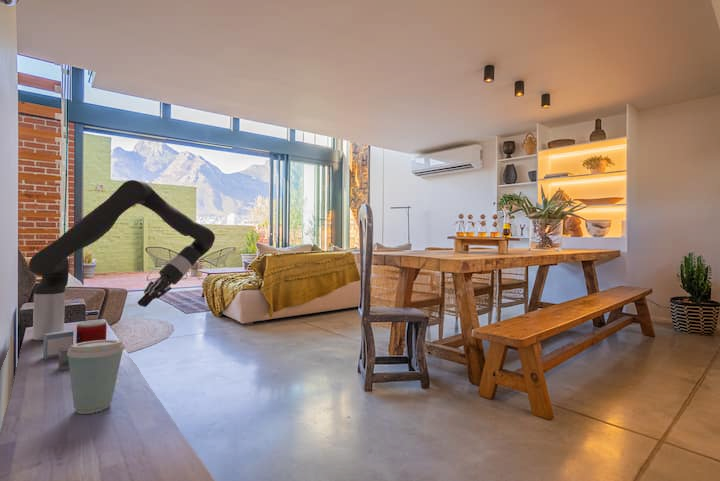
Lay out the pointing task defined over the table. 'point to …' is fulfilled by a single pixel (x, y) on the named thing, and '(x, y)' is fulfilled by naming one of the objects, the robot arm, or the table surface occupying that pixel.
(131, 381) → the table surface
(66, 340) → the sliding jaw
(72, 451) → the table surface
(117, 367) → the disposable coffee cup
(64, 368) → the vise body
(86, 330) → the canned food
